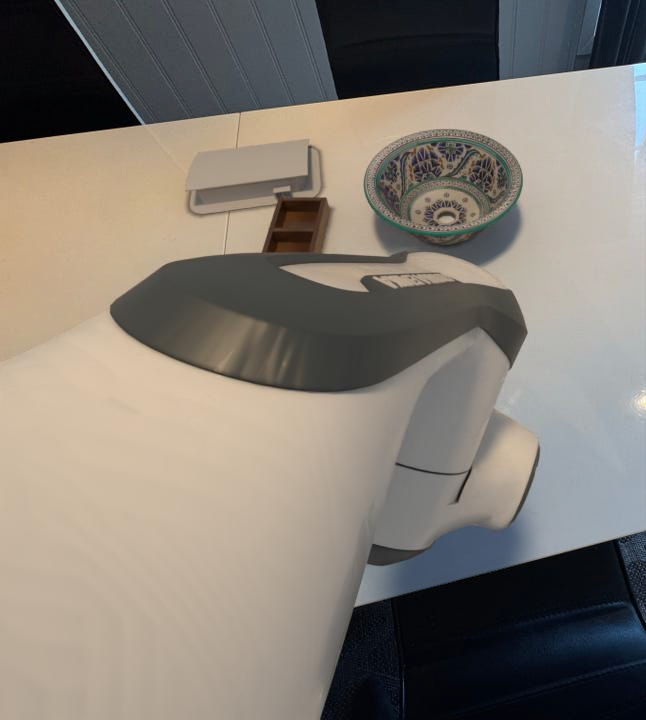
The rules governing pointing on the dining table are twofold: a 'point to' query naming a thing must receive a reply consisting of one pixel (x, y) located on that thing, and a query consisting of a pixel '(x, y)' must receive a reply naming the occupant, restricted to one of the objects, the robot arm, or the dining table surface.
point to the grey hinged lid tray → (252, 176)
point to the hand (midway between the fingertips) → (214, 341)
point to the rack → (298, 225)
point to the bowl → (443, 184)
